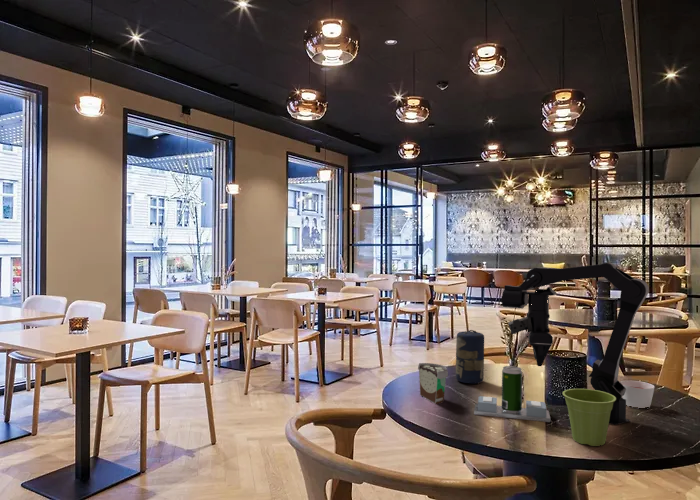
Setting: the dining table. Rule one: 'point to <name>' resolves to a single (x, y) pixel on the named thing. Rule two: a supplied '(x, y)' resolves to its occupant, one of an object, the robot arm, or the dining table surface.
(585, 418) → the plant pot
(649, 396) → the white tapered cup
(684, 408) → the dining table surface
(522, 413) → the rail
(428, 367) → the food container
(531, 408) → the module
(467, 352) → the canister
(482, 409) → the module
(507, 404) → the beer can
